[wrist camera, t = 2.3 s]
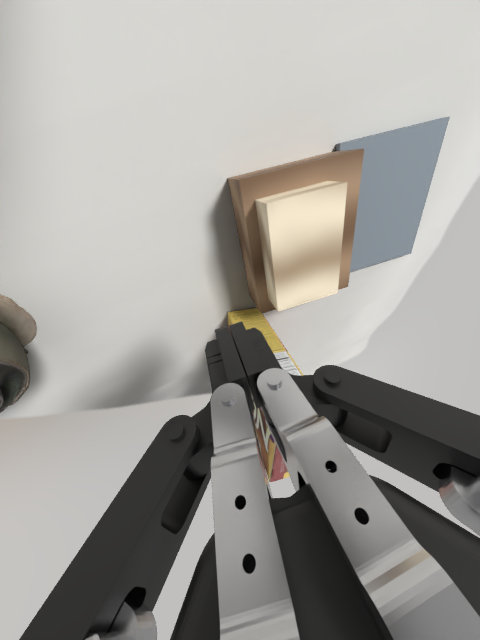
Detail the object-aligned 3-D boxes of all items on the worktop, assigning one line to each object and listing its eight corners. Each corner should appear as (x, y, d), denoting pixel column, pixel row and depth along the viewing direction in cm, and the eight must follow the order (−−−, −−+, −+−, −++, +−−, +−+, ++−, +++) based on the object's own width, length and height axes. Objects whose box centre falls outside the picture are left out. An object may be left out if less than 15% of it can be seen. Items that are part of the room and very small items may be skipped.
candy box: (257, 357, 32) (309, 472, 20) (229, 363, 31) (265, 486, 19) (260, 305, 27) (333, 415, 15) (226, 310, 26) (274, 430, 14)
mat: (336, 144, 20) (340, 143, 19) (443, 117, 21) (449, 116, 20) (328, 275, 27) (331, 277, 27) (406, 251, 28) (410, 253, 28)
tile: (255, 199, 17) (266, 203, 15) (327, 180, 17) (347, 182, 15) (268, 298, 22) (278, 311, 20) (323, 282, 23) (337, 292, 21)
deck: (227, 178, 19) (238, 180, 16) (333, 151, 20) (364, 148, 17) (250, 296, 26) (261, 313, 23) (327, 272, 27) (348, 286, 24)
